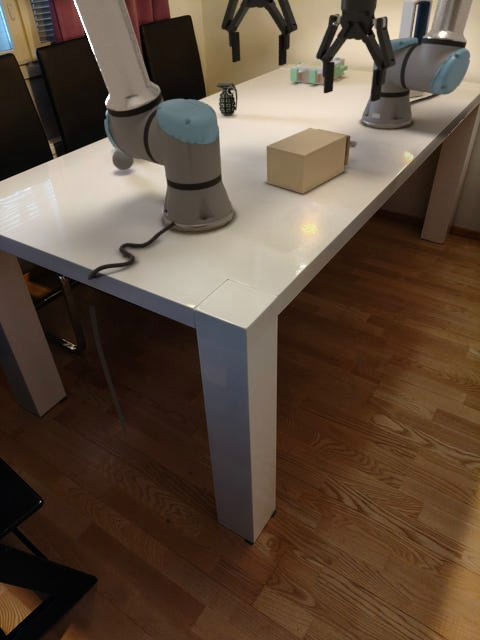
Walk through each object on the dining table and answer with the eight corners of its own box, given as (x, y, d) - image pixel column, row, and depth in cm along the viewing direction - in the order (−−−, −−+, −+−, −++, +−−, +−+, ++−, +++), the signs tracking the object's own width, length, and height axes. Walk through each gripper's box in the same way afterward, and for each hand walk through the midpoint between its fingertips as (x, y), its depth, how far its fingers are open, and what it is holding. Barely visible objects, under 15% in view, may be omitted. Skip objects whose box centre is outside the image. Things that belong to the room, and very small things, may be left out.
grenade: (217, 117, 168) (214, 86, 162) (221, 112, 172) (219, 82, 166) (235, 117, 166) (233, 86, 160) (239, 113, 171) (238, 82, 165)
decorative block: (312, 54, 215) (354, 57, 206) (311, 70, 219) (352, 74, 210) (281, 65, 199) (325, 69, 190) (281, 83, 203) (324, 87, 194)
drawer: (329, 150, 135) (331, 123, 130) (360, 157, 129) (363, 129, 125) (278, 175, 122) (278, 145, 118) (310, 184, 117) (312, 154, 112)
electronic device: (393, 99, 175) (406, 0, 157) (383, 94, 181) (394, -2, 162) (424, 95, 177) (441, -3, 159) (413, 90, 183) (428, -5, 165)
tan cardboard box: (308, 162, 130) (309, 127, 125) (343, 171, 124) (346, 135, 119) (266, 183, 121) (266, 146, 115) (302, 193, 115) (304, 155, 109)
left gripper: (314, -44, 108) (309, 63, 121) (220, -40, 119) (226, 57, 132) (298, -42, 103) (296, 69, 116) (203, -39, 114) (210, 62, 127)
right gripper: (422, -12, 98) (405, 100, 111) (324, -14, 113) (319, 85, 126) (402, -8, 94) (387, 107, 107) (303, -11, 109) (300, 92, 122)
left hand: (258, 63), depth 124 cm, fingers open, 13 cm apart
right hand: (350, 96), depth 116 cm, fingers open, 13 cm apart
